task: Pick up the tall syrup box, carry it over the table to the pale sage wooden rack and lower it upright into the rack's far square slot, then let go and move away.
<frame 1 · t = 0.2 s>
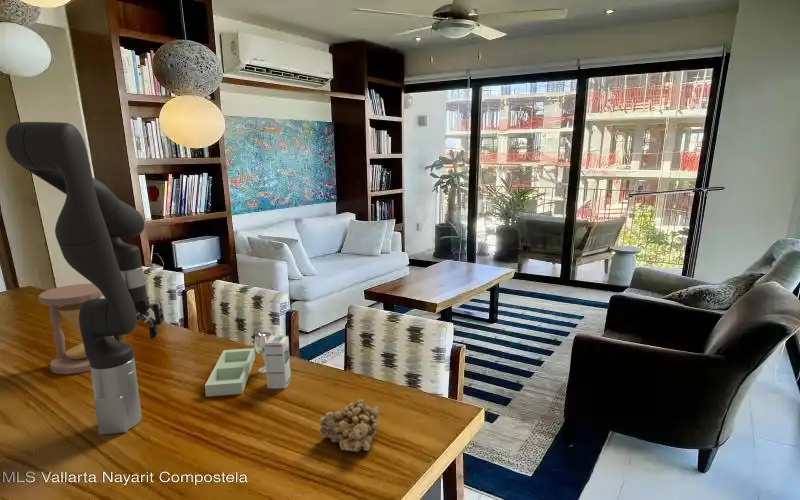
hand: (136, 339, 120), 17 cm above the table, tool pointing down, fingers open, 8 cm apart
syrup box: (279, 384, 130), on the table
mineral formation: (356, 438, 105), on the table
rack: (232, 375, 136), on the table
hourglass: (84, 362, 145), on the table
wineglass: (265, 370, 139), on the table
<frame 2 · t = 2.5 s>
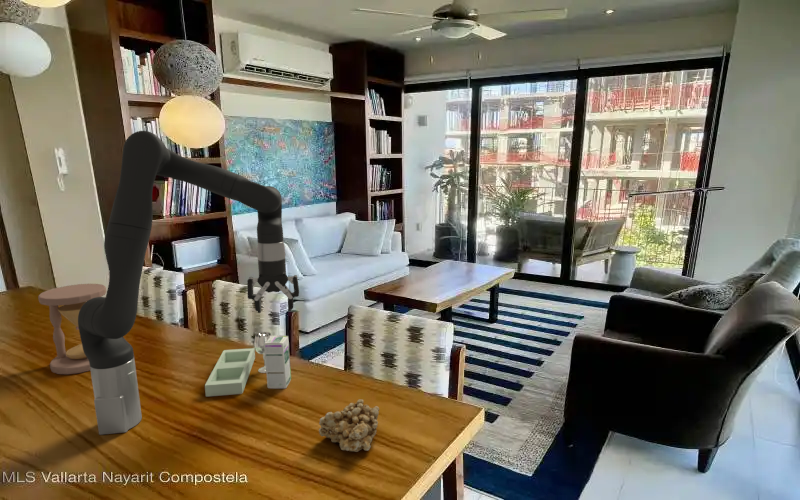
hand: (274, 311, 126), 23 cm above the table, tool pointing down, fingers open, 8 cm apart
nothing on the table moved.
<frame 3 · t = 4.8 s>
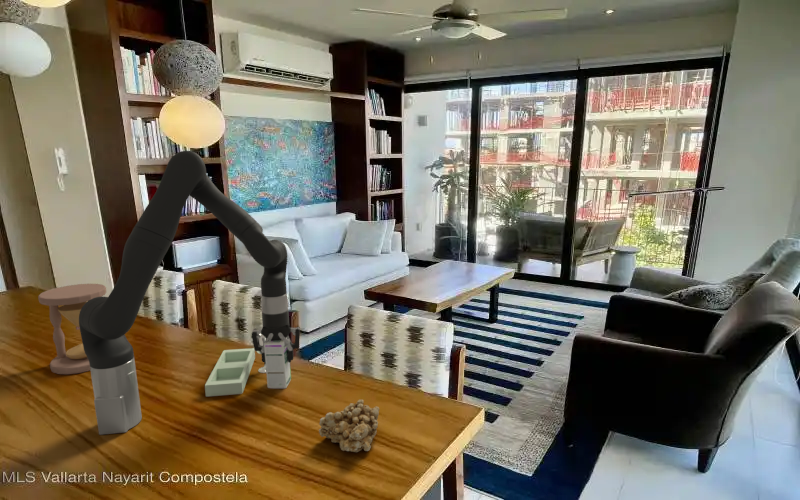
hand: (278, 361, 129), 7 cm above the table, tool pointing down, fingers closed on syrup box, 6 cm apart
syrup box: (279, 384, 130), on the table, touching gripper
everything else where it was.
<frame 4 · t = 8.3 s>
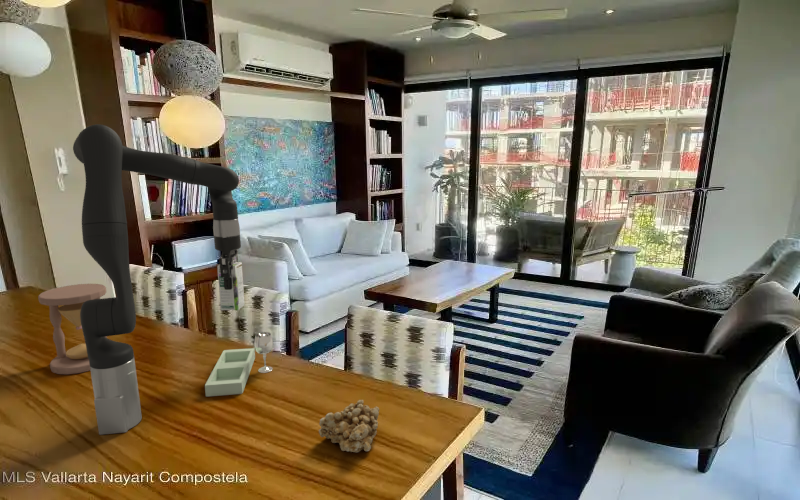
hand: (230, 286, 136), 28 cm above the table, tool pointing down, fingers closed on syrup box, 6 cm apart
syrup box: (232, 308, 137), point 20 cm above the table, touching gripper
everything else where it was.
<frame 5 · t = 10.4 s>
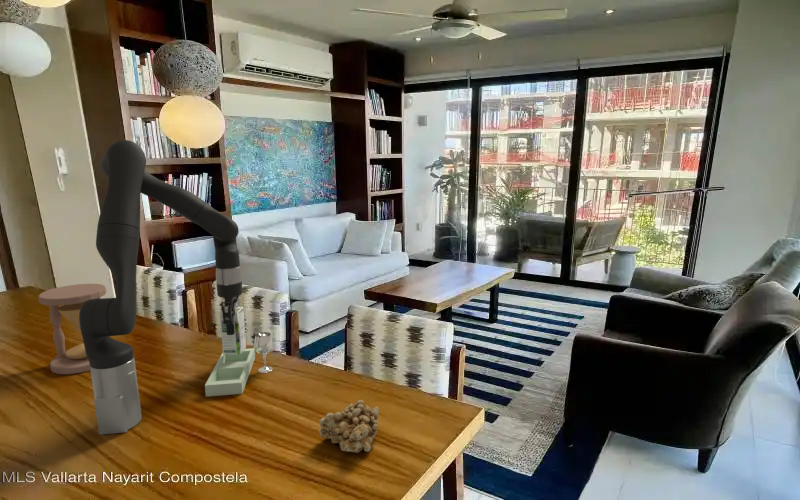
hand: (233, 330, 139), 13 cm above the table, tool pointing down, fingers closed on syrup box, 6 cm apart
syrup box: (234, 351, 140), point 5 cm above the table, touching gripper
everything else where it was.
when the fingers open (9 cm above the table, at t = 12.0 s): syrup box drops 1 cm, resting on rack.
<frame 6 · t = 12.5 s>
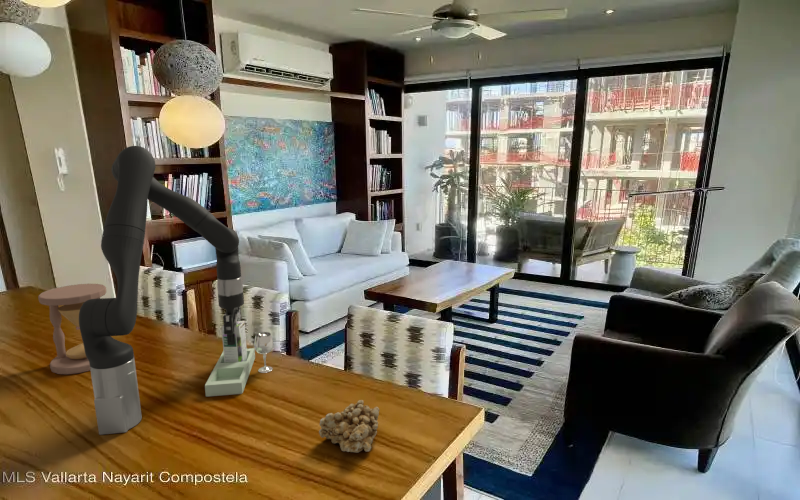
hand: (234, 339, 140), 10 cm above the table, tool pointing down, fingers open, 8 cm apart
syrup box: (236, 365, 142), resting on rack
everything else where it was.
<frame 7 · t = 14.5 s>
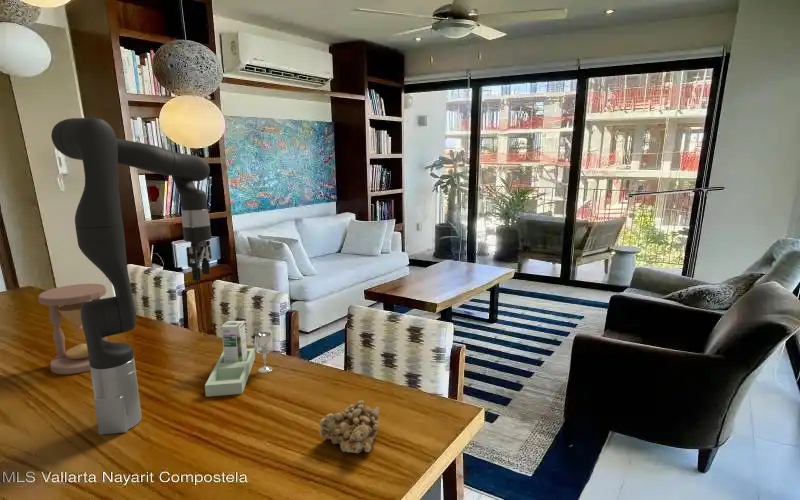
hand: (202, 277, 133), 31 cm above the table, tool pointing down, fingers open, 8 cm apart
nothing on the table moved.
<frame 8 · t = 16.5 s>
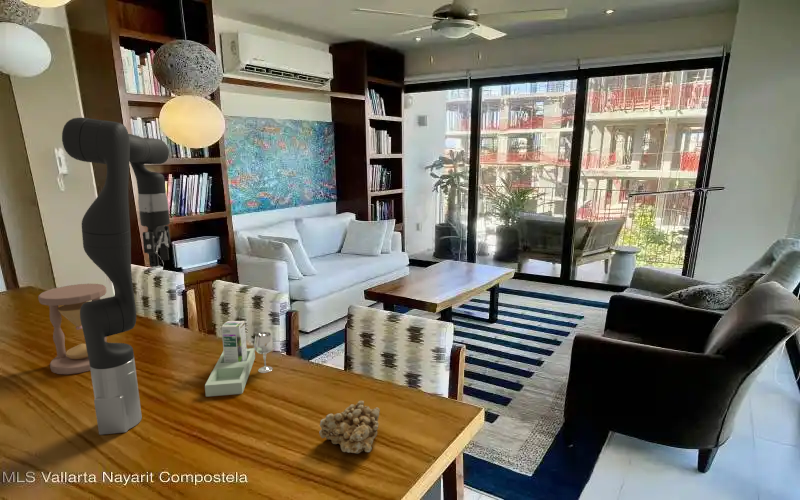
hand: (159, 263, 129), 36 cm above the table, tool pointing down, fingers open, 8 cm apart
nothing on the table moved.
at the end: syrup box 0.2 cm from the target spot on the rack, point 0.3 cm above the rack's base; syrup box tilted 0°; the gripper is holding nothing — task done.
